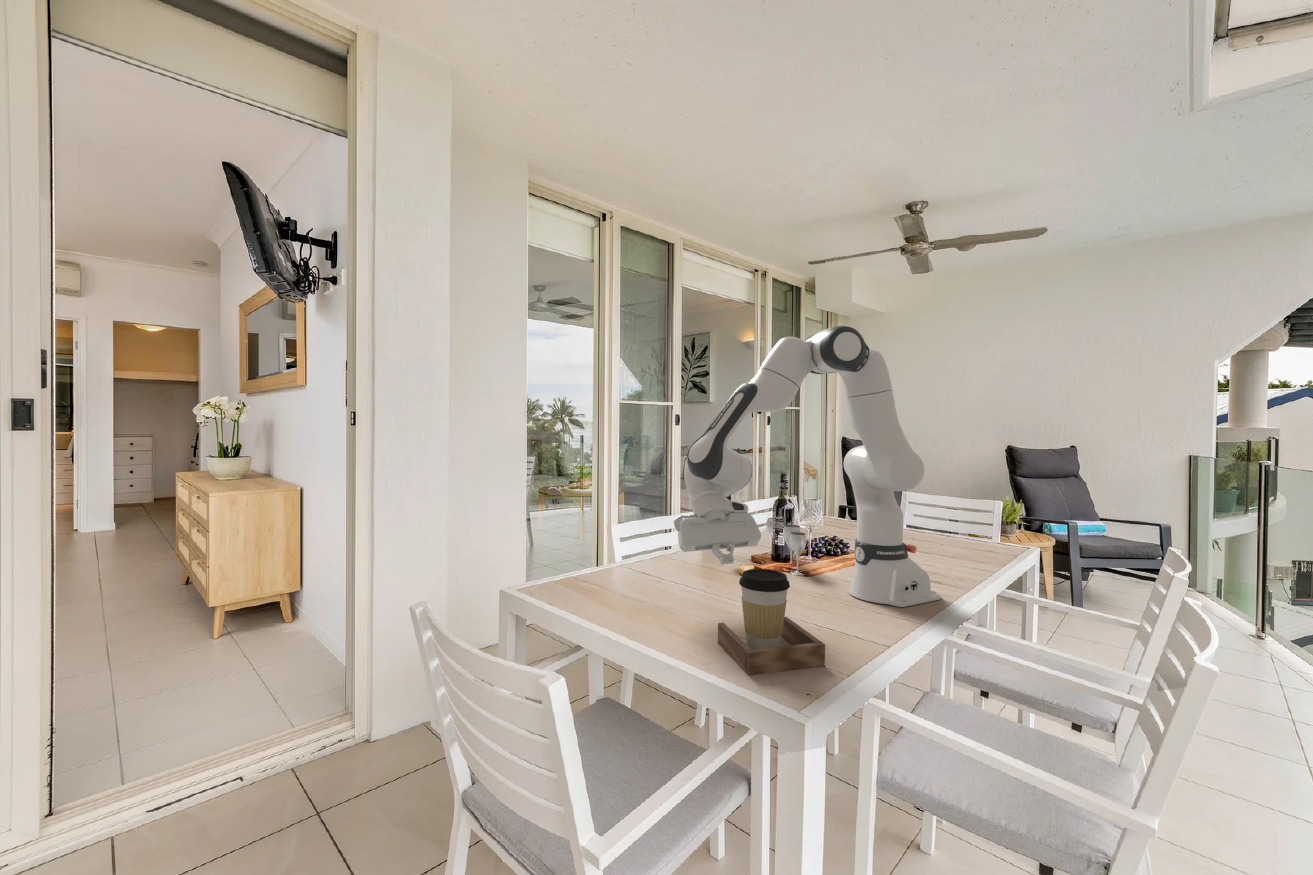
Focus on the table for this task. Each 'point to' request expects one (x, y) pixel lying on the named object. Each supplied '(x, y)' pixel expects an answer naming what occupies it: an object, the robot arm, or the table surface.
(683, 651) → the table surface
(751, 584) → the coffee cup
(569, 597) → the table surface
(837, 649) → the table surface
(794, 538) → the goblet set
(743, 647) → the walnut caddy
